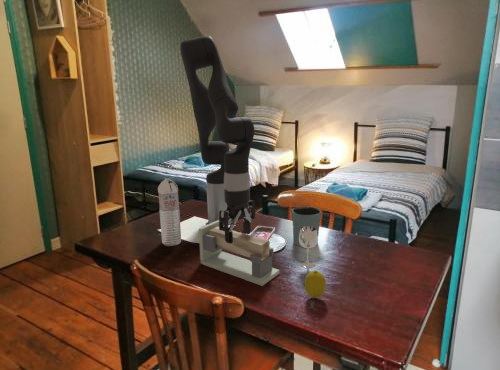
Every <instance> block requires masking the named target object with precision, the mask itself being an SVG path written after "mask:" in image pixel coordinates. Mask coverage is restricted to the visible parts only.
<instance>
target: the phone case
mask: <svg viewBox="0 0 500 370" xmlns="http://www.w3.org/2000/svg"><path fill="white" fill-rule="evenodd" d="M261 228H266V229H267V228H268V229H271V230H272V231H271V232H270V233H269V235H267V237H266V239H265V240H269V239H270V238H271V237H272V235H273V234H274V233H275V231H276V227H275V226H264V225H257V226H256V227H255V228H254V229H253V230H252V231H251V232H250V234H249V235H252V236H253V235H254V233H255V232H256V231H257V230H258V229H261ZM270 236H271V237H270ZM269 237H270V238H269Z"/></svg>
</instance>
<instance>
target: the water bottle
mask: <svg viewBox="0 0 500 370" xmlns="http://www.w3.org/2000/svg"><path fill="white" fill-rule="evenodd" d="M163 177H164V180H162V181H161V182H160V184H159V185H158V187H157V192H158V202H159V220H160V222H159V223H160V233H161V241H162V242H161V243H162V245H164V246H165V247H174V246H178V245H180V244H181V242H182V231H181V217H180V216H181V215H180V213H181V212H180V206H179V202H180V201H179V187H178V184H176V182H175V181H173V180H172V179H171V175H170V174H165V175H163Z"/></svg>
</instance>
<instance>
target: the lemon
mask: <svg viewBox="0 0 500 370" xmlns="http://www.w3.org/2000/svg"><path fill="white" fill-rule="evenodd" d="M304 279H305V280H304V289H305V292H306V293H307V295H308V296H310V297H311V298H313V299H316V298H320V297H321V296H323V295H324V294H325V291H326V288H327V287H326V286H327V283H326V278H325V276H324V274H323V273H322V272H320V271H319V270H312V271H310V272H308V273H307V275H306V276H305V278H304Z"/></svg>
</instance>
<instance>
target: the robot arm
mask: <svg viewBox="0 0 500 370" xmlns="http://www.w3.org/2000/svg"><path fill="white" fill-rule="evenodd" d="M179 48H180V55H181V59H182V63H183V68H184V71H185V75H186V78H187V82H188V86H189V91H190V97H191V104H192V109H193V114H194V118H195V124H196V129H197V132H198V140H199V141H198V142H199V148H200V156H201V159H202V163H204V164H205V165H210V166H211V165H212V166H214V165H215V166H216V165H217V166H220V167H219V168H218V169H216V170H214V171H212V172H209V173H207V174H206V176H205V178H206V201H207V203H206V204H207V222H208V224H210V223H212V222H215V221H217V220H219V230H221V231H225V241H226V242H227V243H230V244H231V243H233V232H232V230H233V229H234V227H235V226H237V222H239V221H240V220H242V221H243V222H242V227H243V228H242V230H243V234H247V235H250V234H251V223H252V220H255V219H256V208H255V200H251V192H250V191H251V180H250V171H249V170H250V169H249V168H250V167H249V164H250V162H249V158H250V154H251V149H252V144H253V140H254V137H255V125H254V122H253V121H252V119H251V118H249V117H247V116H240V117H239V116H237V117H234V116H236V115H237V113H238V111H239V105H238V103H237V101H236V98H235V96H234V94H233V92H232V90H231V88H230V86H229V82H228V78H227V76H226V71H225V68H224V65H223V62H222V59H221V56H220V53H219V49H218V46H217V44H216V42H215V40H214V38H212V36H210V35H202V36H198V37H193V38H189V39H185V40H183V41H181V42H180V47H179ZM207 67H208V68H209V67H211V68H212V73H211V76H210V80H209V82H208V86H207V84H206V83H204V82H203V81H202V79H201V78H200V76H199V75H198V74H197V70H200V69H204V68H207ZM215 128H216V134H217V135H216V136H217V137H218V140H210V139H209V138H210V136H211V134H212V132H213V131H214V129H215ZM236 143H237V144H236ZM229 144H236V147H235V148H233V149H230V145H229ZM233 231H234V230H233Z"/></svg>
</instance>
